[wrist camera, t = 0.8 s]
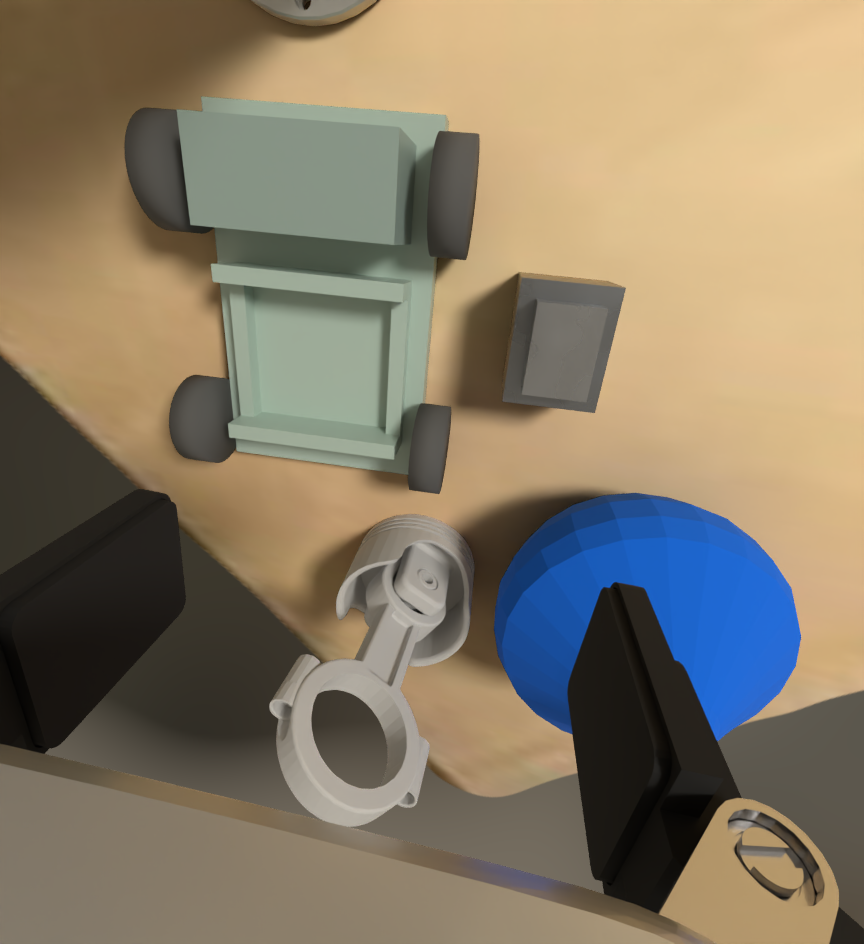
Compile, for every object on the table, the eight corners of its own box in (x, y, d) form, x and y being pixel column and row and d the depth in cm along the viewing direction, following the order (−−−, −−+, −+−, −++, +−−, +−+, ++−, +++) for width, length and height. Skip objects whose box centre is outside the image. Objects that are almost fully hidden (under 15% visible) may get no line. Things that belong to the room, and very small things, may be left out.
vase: (793, 531, 35) (1065, 803, 18) (633, 677, 43) (717, 961, 26) (583, 411, 34) (665, 587, 17) (455, 586, 42) (423, 827, 25)
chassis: (183, 100, 29) (102, 65, 23) (483, 123, 27) (478, 92, 22) (222, 440, 38) (172, 476, 33) (445, 471, 37) (434, 513, 31)
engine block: (519, 272, 31) (522, 279, 25) (607, 280, 30) (632, 290, 24) (502, 380, 34) (502, 409, 28) (582, 389, 33) (599, 421, 27)
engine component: (427, 628, 44) (499, 562, 40) (373, 901, 26) (495, 832, 22) (329, 561, 42) (394, 485, 38) (197, 805, 24) (293, 709, 20)
